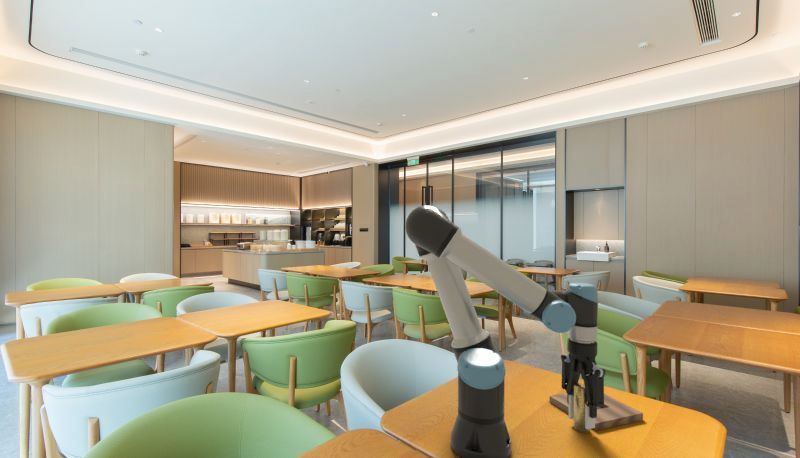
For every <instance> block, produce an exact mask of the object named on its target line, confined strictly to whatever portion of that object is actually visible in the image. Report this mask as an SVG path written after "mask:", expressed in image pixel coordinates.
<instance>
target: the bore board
mask: <svg viewBox="0 0 800 458" xmlns="http://www.w3.org/2000/svg"><path fill="white" fill-rule="evenodd" d="M592 401H593V400H592ZM549 403H550V404H552V405H553V406H554V407H557V408H558V409H560V410H562V411H563V412H565V413H567V414H568V410H569V404H568V403H567V393H566V392H564V393H558V394H552V395H549ZM643 420H644V413H643V412H642V411H640V410H638V409H636V408H634V407H632V406H630V405H628V404H625V403H624V402H622V401H620V400H617V399H616V398H614V397H611V396H609V395H608V394H605V393H604V405H603V406H598V407H597V417H596V418H595V428H592V430H594V431H601V430H606V429H608V428H609V429H610V428H612V427H613V428H614V427H618V426H622V425H626V424H627V425H628V424H630V423H631V424H632V423H635V422H639V421H643Z"/></svg>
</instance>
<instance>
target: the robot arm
mask: <svg viewBox="0 0 800 458" xmlns="http://www.w3.org/2000/svg"><path fill="white" fill-rule="evenodd" d="M405 233H406V235H407V238H408V239H409V240H410V241H411V242H412V244H414V245H415V249H416V251H417V253H418V257H419V258H420V259H421V260H424V261H425V262H426V264H427V266H428V269H429V271H430V272H429V273H430V275H431V277H432V281H433V283H434V286H435V289H436V291H437V292H436V293H437V294H438V296H439V300H440V302H441V306H442V309H443V311H444V313H445V316H446V317H445V318H446V319H447V322H448V325H449V328H450V330H451V332H452V336H453V339H452V341H451V344H450V345H451V346H450V347H452V348H451V349H452V350H453V354H454V356H455V360H456V363H457V415H456V418H455V421H454V424H453V427H452V431H451V432H450V433H451V434H450V447H451V449H452V451H453V450H454V451H453V452H454V453H455V455H457V456H458V455H459V456H458V457H459V458H461V457H462V458H509V457H511V454H512V440H511V436H510V433H509V430H508V427H507V423H506V421H505V420H506V419H505V377H506V365H505V361H504V358H503V357H502V356H501V355H500V354H499V353H498V351H497V349H496V348H495V347H496V346H494V342H493V340H492V337H491V335H490V333H489V331H487V330H486V329H483V328H482V324H481V322H480V319H479V316H478V314H477V311H476V308H475V306H474V303H473V300H472V298H471V295H470V292H469V288H468V287H467V284H466V281H465V278H464V275H463V271H465V272H466V273H468V274H469V275H471V276H472V277H474V278H475V279H477V280H478V281H480V282H481V283H483V284H485V286H488V288H490V289H492V290H493V291H495V293H498V295H499V294H500V296H502V297H503V298H505V299H506V300H508V301H510V302H511V303H513V305H516V307H518V308H520V309H521V310H523V313H524V315H525V316H527V317H533V318H535V319H536V320H538V321H539V322H541V323H542V324H543V325H544V327H545V328H546V329H548V330H550V331H551V332H554V333H557V334H565V333H567V335H566V336H567V338H568V339H567V352H568V353H566V354H561V355H560V359H561V364H562V365H561V389H562V390H565V391H566V392H565V393H567V403H568V404H569V410H568V413H567V415H568V417H567V418H568V419H570V420H571V419H574V384H575V383H579V380H580V377H581V379H582V380H583V384H584V385H585V390H586V396H587V401H588V404H585V429H587V430H588V429H589V430H591V429H592V428H595V418H596V417H597V407H598V406H603V405H604V394H605V375H606V373H607V372H606V369H605V368H600V367H599V366H598V365H597V361H596V357H597V355H598V342H597V341H598V326H599V325H598V320H599V319H598V316H599V312H598V311H599V296H598V295H599V292H598V287H597V286H596V285H594V284H591V283H585V282H571V283H569V284H568V285H567V288H566V289H564V290H557V289H555V290H553V289H546V288H545V287H543V286H542V285H540V284H539V283H537V282H536V281H535V280H533V279H531V278H530V277H528V276H527V275H525V274H524V273H522V272H521V271H520V270H518V269H516V268H515V267H513V266H512V265H511V264H509V263H507V262H506V261H504V260H502V259H501V258H500V257H498V256H497V255H495V254H493V253H492V252H491V251H489V250H487V249H486V248H485V247H483V246H482V245H480V244H478V243H477V242H476V241H474V240H472V239H471V238H469V237H467V236H466V235H465V234H463V232H462V230H461V227H460V226H458V225H456V224H455V223H454V222H452V221H451V220H450V219H449V217H448V215H447V214H446V213H445V212H444V211H443V210H442V209H440V208H439V207H436V206H434V205H429V204H428V205H420V206H417V207H416V208H414V209H412V210H411V211H410V213H409V214H408V215H407V218H406V219H405ZM461 269H462V270H463V271H462V270H461ZM592 400H593V401H592ZM592 430H593V429H592Z"/></svg>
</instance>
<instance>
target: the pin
mask: <svg viewBox="0 0 800 458" xmlns="http://www.w3.org/2000/svg"><path fill="white" fill-rule="evenodd" d="M585 404H588V401H587V396H586V390H585V385H584V383H582V382H578V383H575V384H574V418H572V419H573V429H574V430H575V431H576V432H578V433H584V434H587V433H589V432H590V429H588V430H587V429H585Z"/></svg>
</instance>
